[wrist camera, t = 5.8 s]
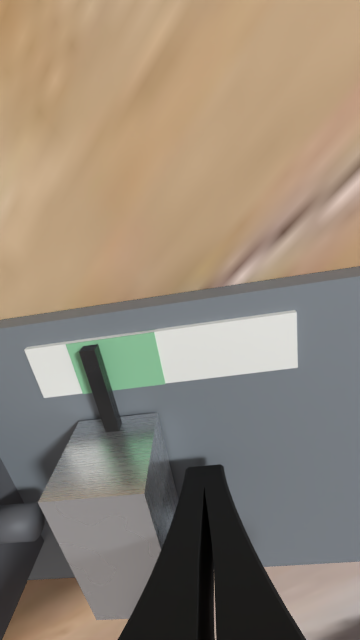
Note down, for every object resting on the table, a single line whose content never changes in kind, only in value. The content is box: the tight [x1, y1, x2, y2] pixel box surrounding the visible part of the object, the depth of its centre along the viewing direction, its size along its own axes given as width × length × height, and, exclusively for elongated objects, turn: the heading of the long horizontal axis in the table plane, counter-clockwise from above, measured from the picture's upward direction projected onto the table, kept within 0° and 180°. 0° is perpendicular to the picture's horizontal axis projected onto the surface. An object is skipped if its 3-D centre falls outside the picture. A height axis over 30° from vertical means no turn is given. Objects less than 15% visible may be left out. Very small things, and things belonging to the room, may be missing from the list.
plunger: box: [38, 344, 178, 620], centre depth 10 cm, size 9×3×3 cm, turn 10°
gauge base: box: [0, 266, 360, 640], centre depth 11 cm, size 14×18×4 cm
